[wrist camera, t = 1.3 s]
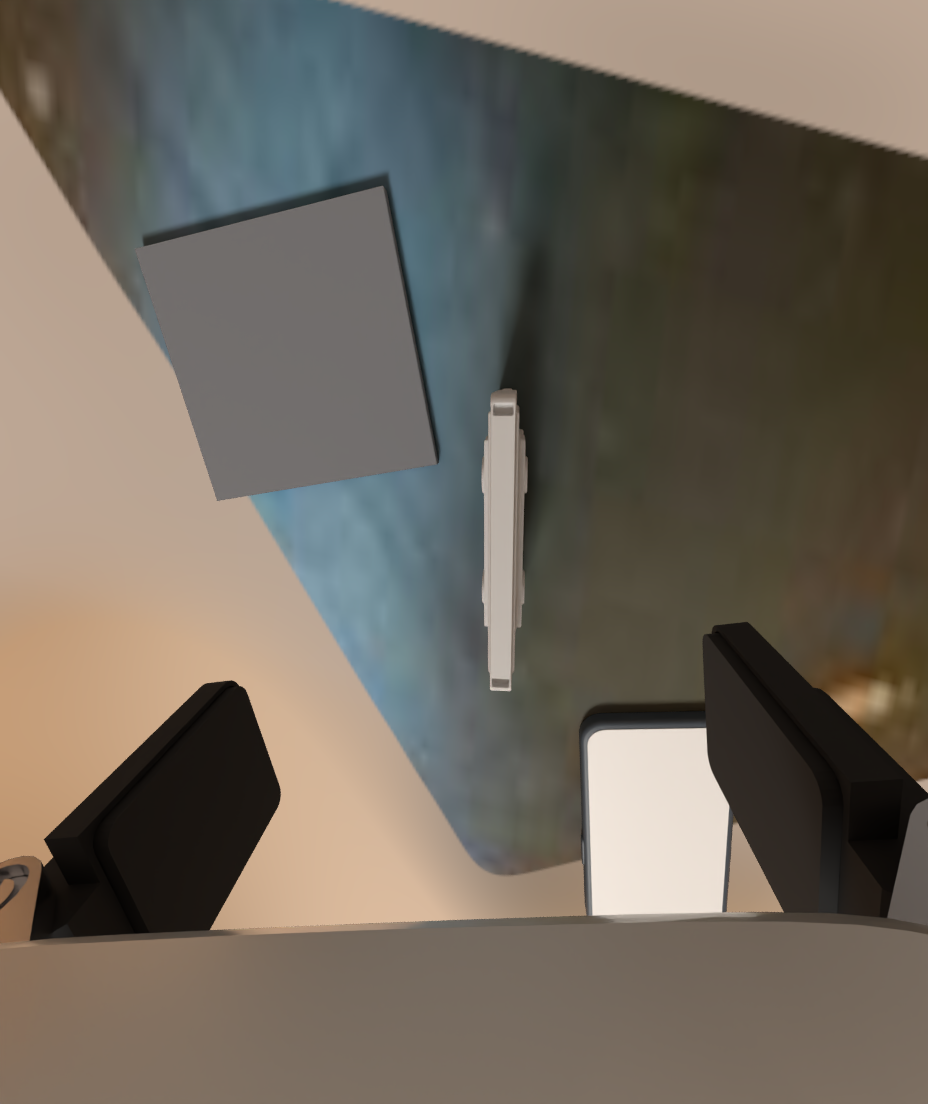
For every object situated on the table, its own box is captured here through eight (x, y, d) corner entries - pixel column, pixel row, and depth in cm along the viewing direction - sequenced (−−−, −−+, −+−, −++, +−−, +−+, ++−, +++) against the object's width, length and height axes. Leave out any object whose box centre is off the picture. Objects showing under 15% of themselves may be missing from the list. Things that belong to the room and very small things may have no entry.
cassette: (488, 388, 25) (476, 391, 17) (527, 388, 24) (531, 390, 17) (488, 615, 28) (477, 694, 21) (522, 616, 28) (523, 697, 21)
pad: (386, 190, 22) (383, 185, 22) (438, 462, 26) (436, 464, 25) (143, 252, 24) (134, 248, 24) (223, 498, 28) (217, 500, 27)
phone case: (575, 706, 30) (582, 908, 35) (578, 723, 29) (585, 932, 33) (732, 703, 29) (718, 912, 34) (744, 720, 28) (728, 937, 32)
